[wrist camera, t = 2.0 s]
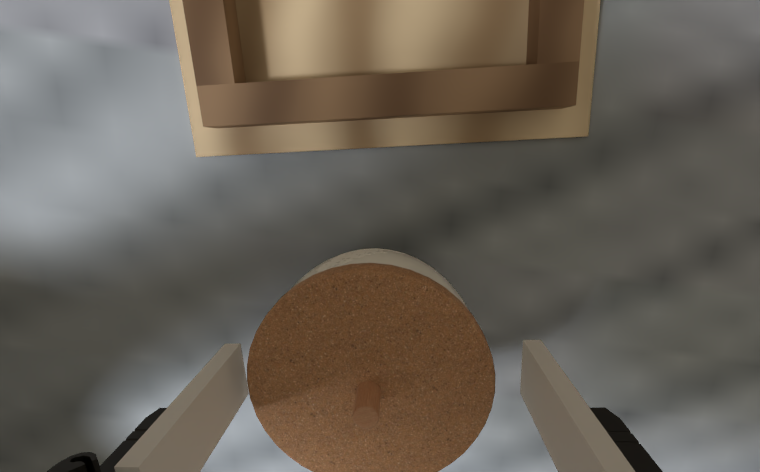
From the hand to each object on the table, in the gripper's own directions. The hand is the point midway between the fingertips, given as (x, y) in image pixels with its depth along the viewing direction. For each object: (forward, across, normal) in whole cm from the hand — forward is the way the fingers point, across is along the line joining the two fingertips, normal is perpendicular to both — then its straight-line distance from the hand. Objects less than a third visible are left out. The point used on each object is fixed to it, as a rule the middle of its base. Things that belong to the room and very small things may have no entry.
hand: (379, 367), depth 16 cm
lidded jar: (+7, 0, 0) cm, 7 cm away
